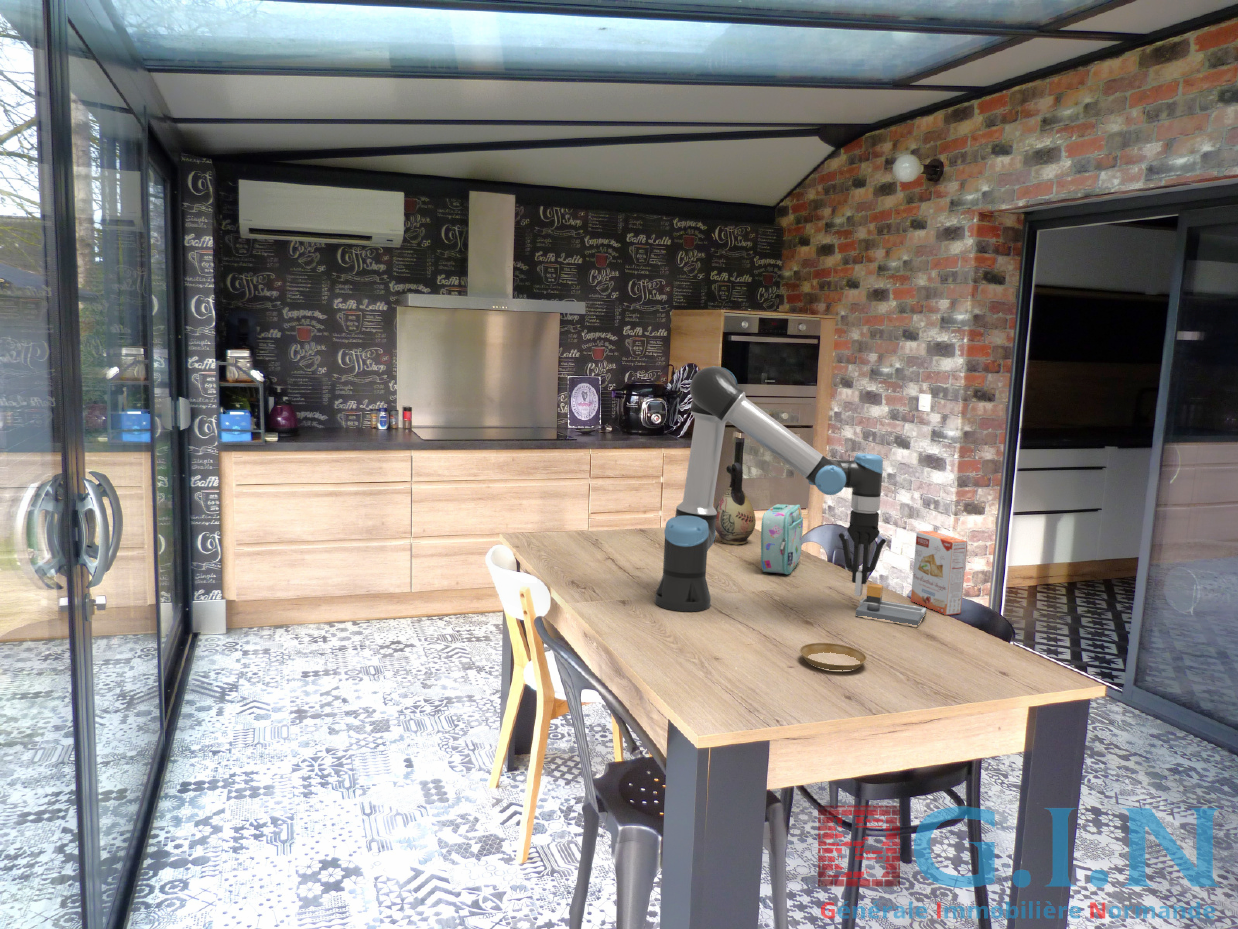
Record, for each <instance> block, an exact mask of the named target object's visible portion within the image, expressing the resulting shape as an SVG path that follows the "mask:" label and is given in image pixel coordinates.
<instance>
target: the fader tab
mask: <svg viewBox="0 0 1238 929" xmlns="http://www.w3.org/2000/svg"><path fill="white" fill-rule="evenodd" d="M883 591H884V585H883V584H877V583H874V582H873V583H872V582H869V583H868V584H867V586H866V602H868V603H870V602H873V603H878V604H880V605H881V603H882V601H883Z"/></svg>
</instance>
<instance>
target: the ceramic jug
mask: <svg viewBox="0 0 1238 929" xmlns="http://www.w3.org/2000/svg"><path fill="white" fill-rule="evenodd" d="M725 469H726V473H728V475H730V483H729V486H728V488H727V489H726V491H725V492H724V494H723V495H722V496H721V498H720V500H719V501H718V503H717V505H716V507H715V510H716V511H717V517H716V523H715V532H716V533H717V535H718V536H719V538H720V539H721V542H722V543H723V544H729V545H735V546H737V545H743V544H747V543H748V538H749V537H751V536H752V535H753V532H754V530H755V528H756V515H755V510H754V506H753V505H752V503H751V502H750V500H749V498H748V496H747V495H746V492H745V491H744V490H743V478H744V477H743V473H744V472H743V467H742V465H741V463H740V462H734V463H732V465H727V467H726V468H725Z"/></svg>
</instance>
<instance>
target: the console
mask: <svg viewBox="0 0 1238 929" xmlns="http://www.w3.org/2000/svg"><path fill="white" fill-rule="evenodd" d="M866 598H867V597H866ZM866 598H865V597H863V598H862V599H860V600H859V604H858V605H859V606H858V607H857V608H856V609H855V615H857V616H867V617H872V618H877V619H885V620H890V621H893V622H899V623H908V624H912V625H917V626H918V624H919V623H920V621H921V619H922V618H923V616H924V615H925V613H926V614H927V609H928V608H926V607H924V606H917V605H911V604H905V603H900V602H899V603H898V602H894V601H889V600H888V601H887V600H882V603H881V605H880V604H878V603H873V602H870V603H868V602H866ZM920 624H921V623H920ZM918 627H919V626H918Z"/></svg>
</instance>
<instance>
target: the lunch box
mask: <svg viewBox="0 0 1238 929" xmlns="http://www.w3.org/2000/svg"><path fill="white" fill-rule="evenodd" d="M760 527H761V529H760V530H761V531H760V567H761V570H762V573H763V572H764V573H771V574H782V575H790V574H791V573H792V572H793V571H794V569H795V568H796V567H797V565H798V563H799V561H800V558H801V554H802V542H803V529H804V518H803V515H802V508H801V505H800V504H777V503H776V504H775V505H773V506H772V507H770V508H768V509H766V511H765V512H764V514H763V515H762V519H761V526H760Z"/></svg>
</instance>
